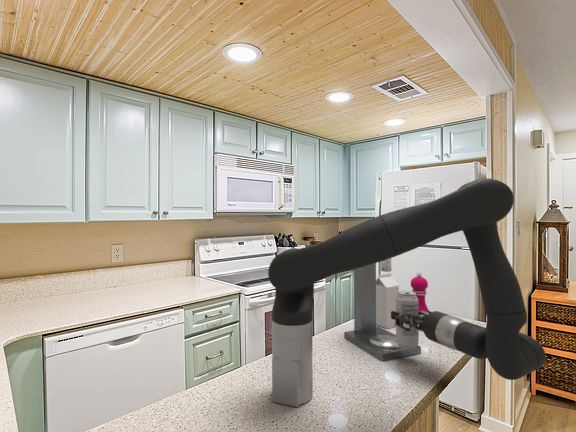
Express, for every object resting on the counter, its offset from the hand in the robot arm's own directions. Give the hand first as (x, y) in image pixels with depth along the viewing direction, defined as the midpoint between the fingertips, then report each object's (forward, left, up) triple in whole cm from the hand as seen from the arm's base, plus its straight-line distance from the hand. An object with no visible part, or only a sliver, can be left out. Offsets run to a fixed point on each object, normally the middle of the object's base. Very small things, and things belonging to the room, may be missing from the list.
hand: (401, 313), depth 98 cm
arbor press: (+10, +4, -13) cm, 16 cm away
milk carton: (+29, +8, -13) cm, 32 cm away
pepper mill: (+31, -4, -13) cm, 33 cm away
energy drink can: (-2, -2, -9) cm, 9 cm away
